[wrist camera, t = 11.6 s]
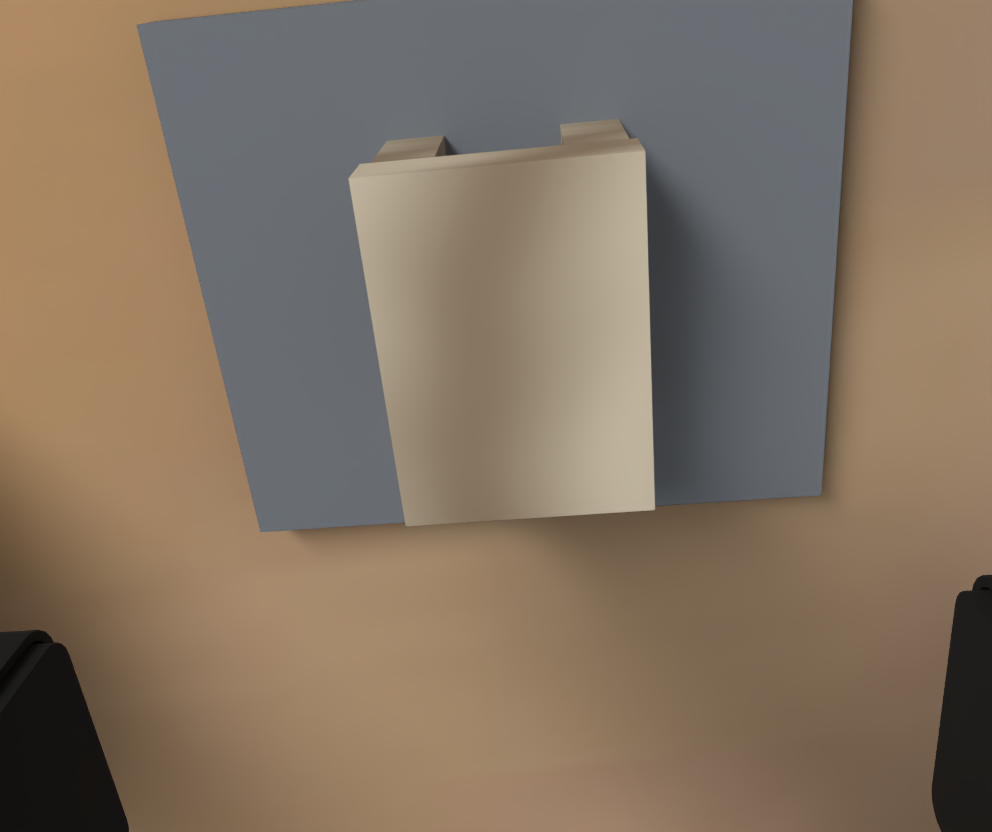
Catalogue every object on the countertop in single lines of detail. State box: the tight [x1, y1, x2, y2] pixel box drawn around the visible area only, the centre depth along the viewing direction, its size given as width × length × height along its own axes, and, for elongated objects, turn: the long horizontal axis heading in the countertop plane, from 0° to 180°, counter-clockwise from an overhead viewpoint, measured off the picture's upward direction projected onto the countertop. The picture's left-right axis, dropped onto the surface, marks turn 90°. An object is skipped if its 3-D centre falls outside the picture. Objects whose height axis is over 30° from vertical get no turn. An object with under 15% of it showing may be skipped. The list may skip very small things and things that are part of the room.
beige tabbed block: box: [348, 119, 655, 526], centre depth 19 cm, size 5×7×4 cm
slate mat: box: [137, 0, 853, 532], centre depth 21 cm, size 12×14×1 cm
